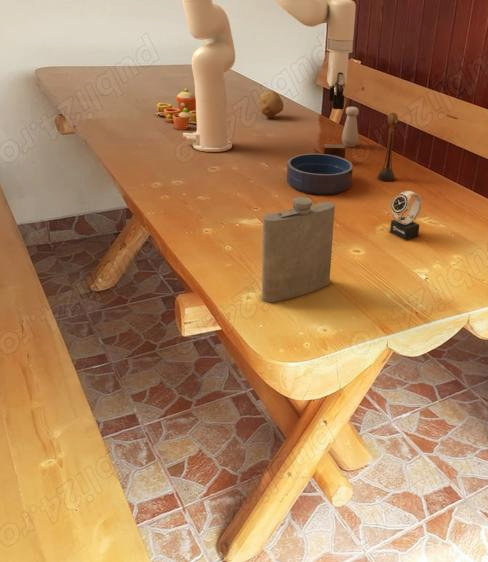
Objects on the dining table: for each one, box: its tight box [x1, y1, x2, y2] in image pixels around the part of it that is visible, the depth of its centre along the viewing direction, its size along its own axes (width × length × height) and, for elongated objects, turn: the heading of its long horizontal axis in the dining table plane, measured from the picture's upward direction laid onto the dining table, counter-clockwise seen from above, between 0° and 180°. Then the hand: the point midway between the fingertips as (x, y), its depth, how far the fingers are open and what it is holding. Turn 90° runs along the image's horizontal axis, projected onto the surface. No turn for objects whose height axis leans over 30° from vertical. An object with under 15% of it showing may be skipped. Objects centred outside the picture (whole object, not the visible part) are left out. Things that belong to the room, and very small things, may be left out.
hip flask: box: [261, 196, 336, 303], centre depth 126 cm, size 16×4×20 cm, turn 128°
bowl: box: [286, 153, 354, 196], centre depth 184 cm, size 19×19×6 cm
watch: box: [389, 190, 422, 241], centre depth 156 cm, size 6×8×11 cm
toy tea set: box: [154, 87, 197, 131], centre depth 231 cm, size 26×16×10 cm, turn 30°
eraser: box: [322, 143, 347, 159], centre depth 202 cm, size 7×4×6 cm, turn 97°
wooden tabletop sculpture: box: [377, 112, 401, 183], centre depth 188 cm, size 6×5×20 cm
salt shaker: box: [341, 106, 360, 148], centre depth 217 cm, size 6×6×13 cm
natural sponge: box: [259, 90, 285, 119], centre depth 242 cm, size 9×9×10 cm
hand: (336, 104), depth 194 cm, fingers open, 9 cm apart
